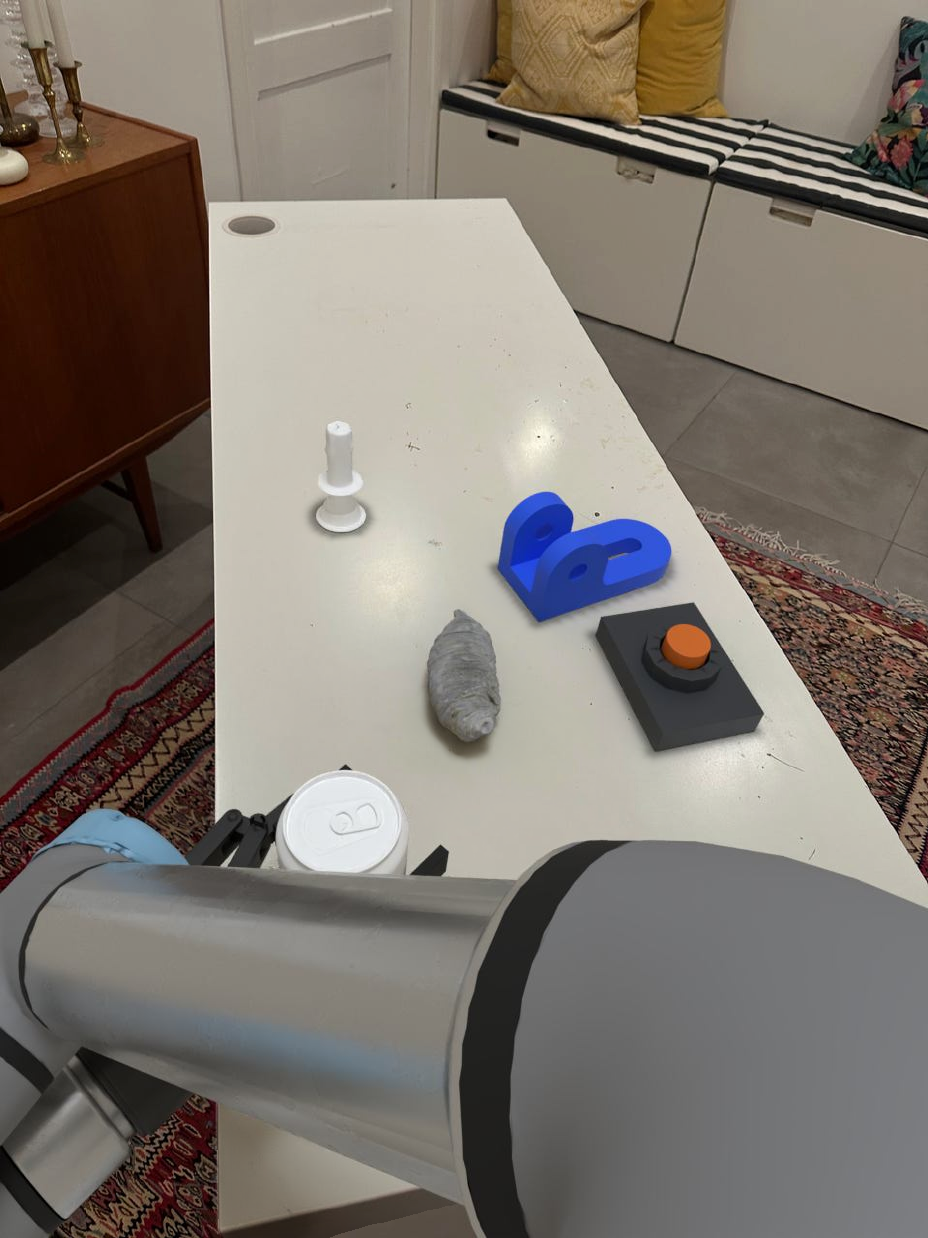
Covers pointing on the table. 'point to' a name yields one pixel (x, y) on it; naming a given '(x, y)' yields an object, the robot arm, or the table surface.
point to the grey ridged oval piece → (464, 678)
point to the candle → (340, 482)
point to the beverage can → (343, 826)
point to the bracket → (575, 557)
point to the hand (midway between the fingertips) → (394, 817)
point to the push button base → (676, 680)
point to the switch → (686, 646)
